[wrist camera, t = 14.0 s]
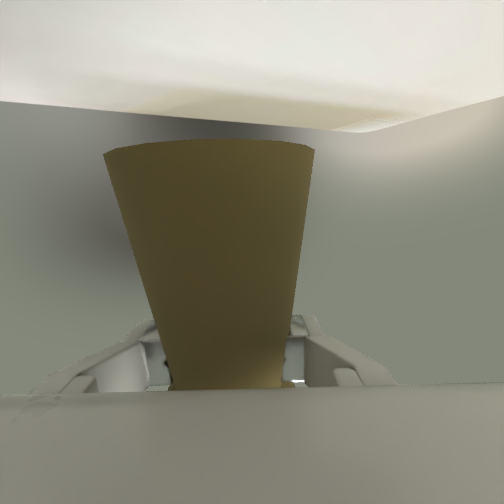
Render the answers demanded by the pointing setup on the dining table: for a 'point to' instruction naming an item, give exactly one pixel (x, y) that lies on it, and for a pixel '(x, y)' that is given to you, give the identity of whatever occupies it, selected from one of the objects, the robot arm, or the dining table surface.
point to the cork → (217, 251)
